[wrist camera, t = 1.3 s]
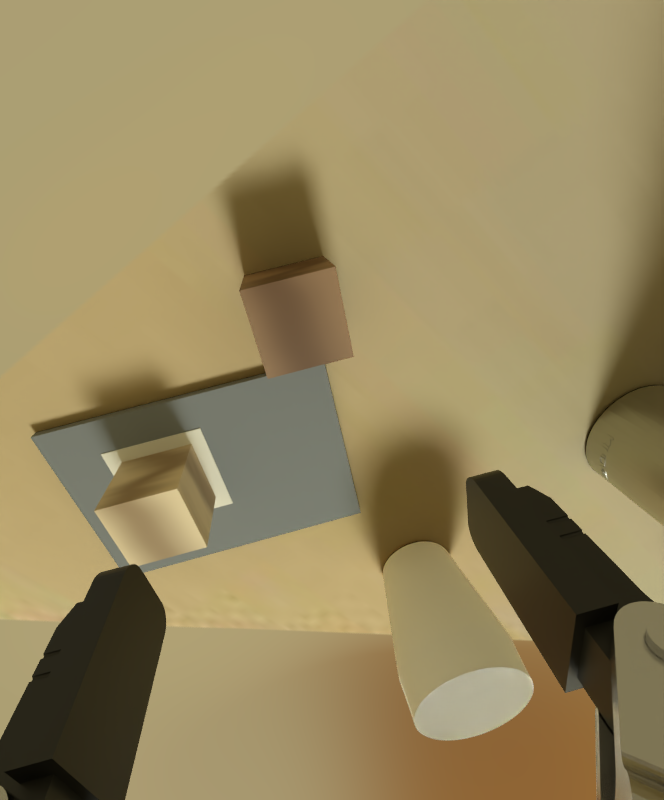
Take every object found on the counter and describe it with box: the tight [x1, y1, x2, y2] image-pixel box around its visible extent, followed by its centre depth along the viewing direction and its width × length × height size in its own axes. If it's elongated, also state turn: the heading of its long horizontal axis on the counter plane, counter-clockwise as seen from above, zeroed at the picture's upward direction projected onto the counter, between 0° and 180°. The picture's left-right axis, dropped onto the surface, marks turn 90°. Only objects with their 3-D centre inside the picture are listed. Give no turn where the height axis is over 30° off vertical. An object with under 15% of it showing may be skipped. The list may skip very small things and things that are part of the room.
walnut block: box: [239, 256, 354, 379], centre depth 23 cm, size 5×5×5 cm
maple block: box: [94, 444, 216, 566], centre depth 27 cm, size 5×5×5 cm
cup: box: [383, 542, 534, 740], centre depth 33 cm, size 9×9×12 cm
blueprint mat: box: [31, 364, 361, 573], centre depth 30 cm, size 20×14×1 cm
